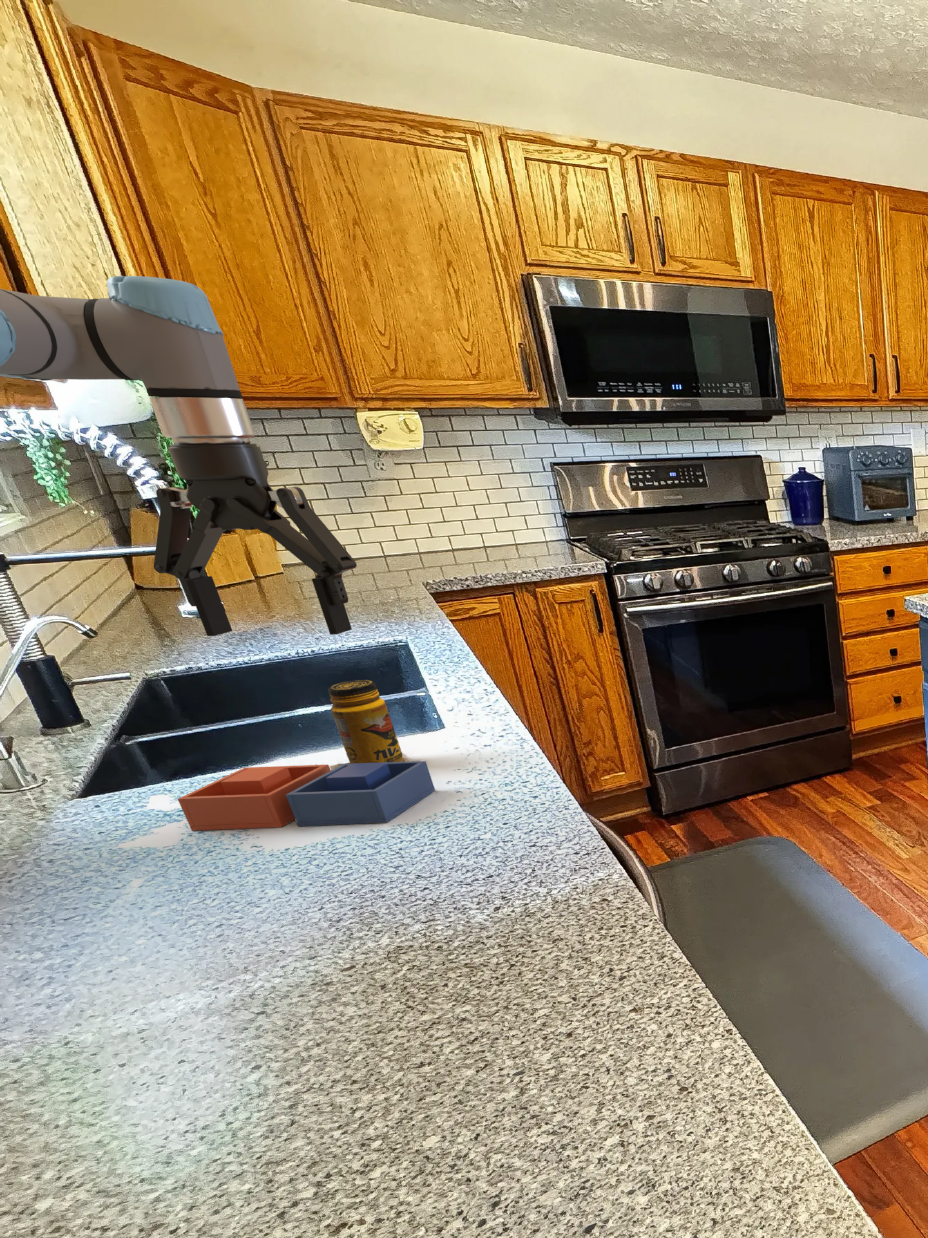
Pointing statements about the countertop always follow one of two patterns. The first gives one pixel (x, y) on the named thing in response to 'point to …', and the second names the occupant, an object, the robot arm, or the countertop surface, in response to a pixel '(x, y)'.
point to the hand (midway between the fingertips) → (281, 633)
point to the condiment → (364, 723)
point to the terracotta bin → (245, 803)
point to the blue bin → (361, 797)
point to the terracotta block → (257, 781)
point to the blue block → (359, 777)
